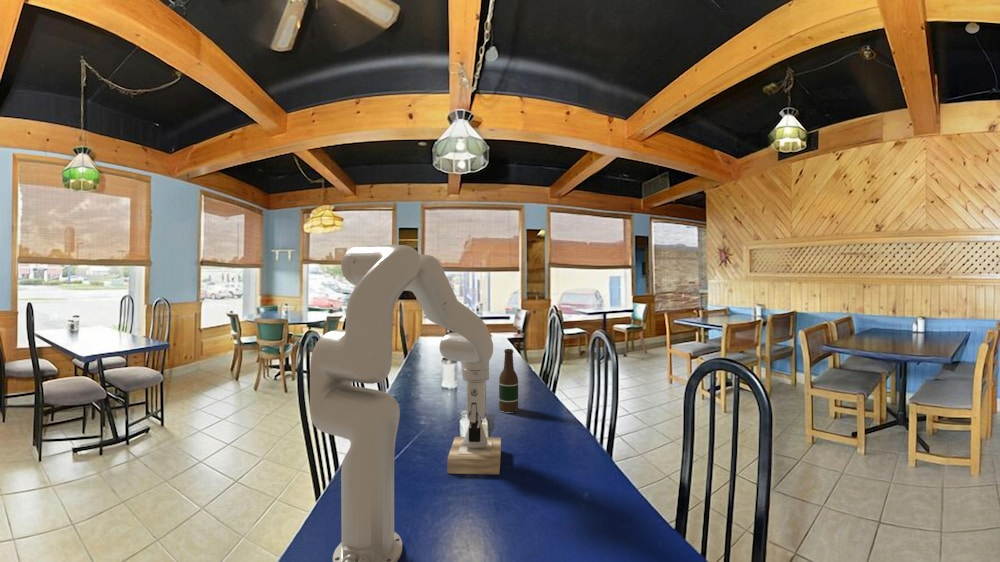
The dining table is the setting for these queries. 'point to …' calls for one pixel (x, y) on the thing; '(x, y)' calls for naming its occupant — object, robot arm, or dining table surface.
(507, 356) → the beer bottle
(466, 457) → the plinth
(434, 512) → the dining table surface
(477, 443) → the flask
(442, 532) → the dining table surface
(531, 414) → the dining table surface
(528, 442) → the dining table surface
